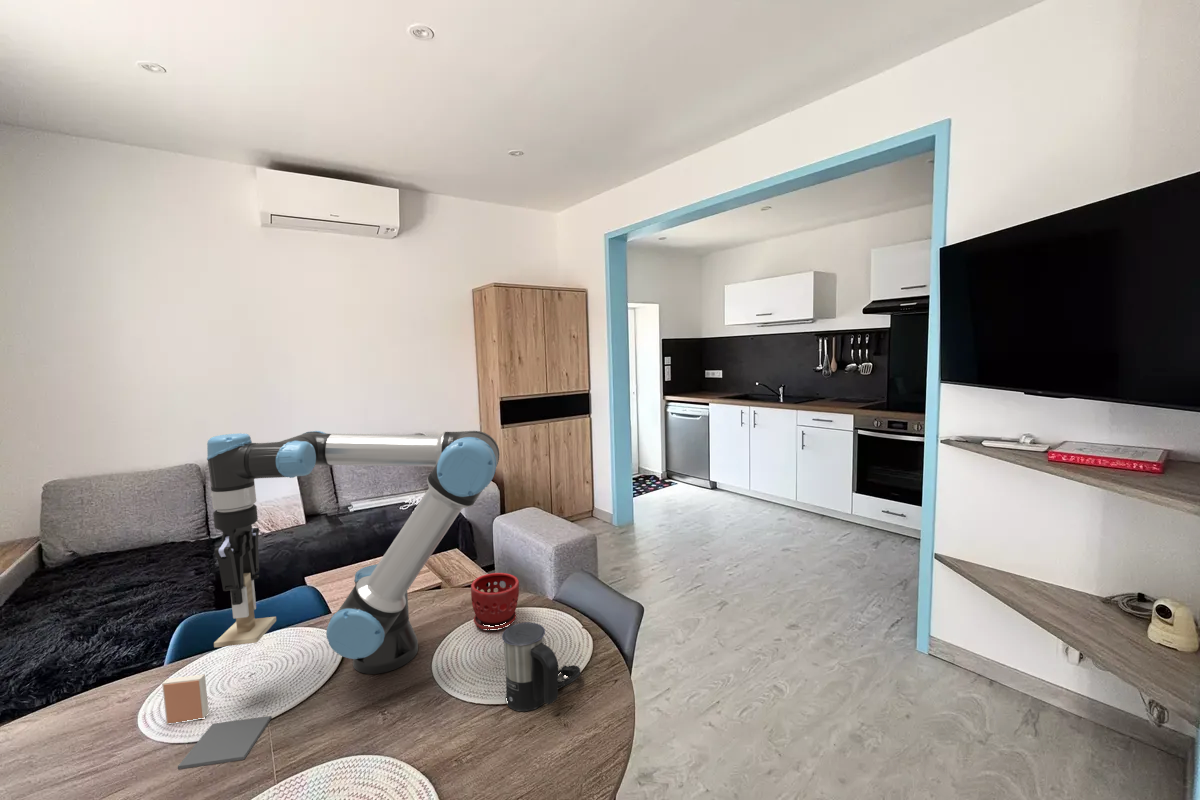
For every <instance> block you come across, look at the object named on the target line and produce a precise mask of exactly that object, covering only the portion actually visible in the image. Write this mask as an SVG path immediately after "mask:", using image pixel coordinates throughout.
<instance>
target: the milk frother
mask: <svg viewBox="0 0 1200 800" xmlns="http://www.w3.org/2000/svg"><path fill="white" fill-rule="evenodd" d="M545 634H546V629H545V628H544V626H543V625H541V624H539V623H535V622H530V621H529V622H528V621H527V622H520V623H515V624H513V625H512V624H511V625H510V626H508V627H507V628H505V629H504V631H503V632H502V634H501V638H502V641H503V653H504V654H503V655H504V667H505V680H506V681H505V685H506V689H505V690H506V696H505V699H506V698H507V701H508V704H506V705H507V706H508V707H509V708H510V709H511V710H512V711H517V712H529V711H533V710H536V709H538V708H540V707H541V706H542V705H543V703H544V704H546V705H551V704H553V703H554V702H555V701H557V699H558V697H559V689H561V688H563V687H565V686H567V685H570V684H571V683H573V682H574V681H576V680H577V679H578V678H579V677H580V675H581V668H580V667H579V666H577V665H575V664H574V665H568V666H567V665H566V664H565V665H563V666H562V667H561V668H560V667H559V662H558V658H557V656H556V654H555V652H554V651H553V649H552V648H551V647H549V646H547V645H546V644H545ZM560 672H561V675H563V676H564V675H566V676H568V677H569V678H566V679H563V680H560V681H559V676H558V674H559V673H560ZM563 676H562V677H563Z"/></svg>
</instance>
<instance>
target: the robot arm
mask: <svg viewBox="0 0 1200 800" xmlns="http://www.w3.org/2000/svg"><path fill="white" fill-rule="evenodd" d="M206 445H207V457H206V460H207V463H208V471H209V472H208V473H209V479H210V491H211V493H210V494H209V495H210V498H211V503H212V509H214V512H213V514H212V515H213V517H212V518H213V525H214V526H213V527H214V528H215V529H216V530H217V531H218V530H219V531H220V532H222V537H221V542H222V544H221V546H219V547H215V548H214V555H215V557H216V559H217V563H218V567H219V568H218V570H219V575H220V581H221V586H222V587H221V588H222V591H223V592H228V591H230V600H231V609H232V618H233V620H234V619H236V618H244V617H248V616H249V609H248V598H247V587H246V586H244V579H243V573H250V574H251V586H252V596H253V607H254V611H255V610H256V609H257V603H256V600H257V599H256V591H255V579H259V577H260V574H258V573H259V571H260V563H259V562H260V559H259V535H260V534H259V533H260V528H259V527H253V525H254V524H256V523H257V522H258V521H259V520H258V519H259V518H258V517H259V516H258V508H257V507H258V506H257V505H256V502H257V494H256V484H255V479H257V480H258V479H274V478H275V479H278V478H280V479H281V478H290V479H291V478H292V479H293V478H296V477H305V476H308V475H310V474H311V473H312V472H313V469H314V468H315V466H376V467H377V466H378V467H383V466H384V467H388V466H389V467H433V469H432V471H431V472H430V474H428V476H427V478H426V482H427V486H428V489H427V490H426V492H425V493H424V495H423V496H422V498H421V499H420V500H419V502H418V504H417V505H416V507H415V508H414V510H413V511H412V512H411V514H410V516H409V517H408V519H407V520H406V521H405V523H404V525H403V526H402V528H400V531H399V532H398V534H397V535H396V536H395V538H394V539H393V541H392V543H391V544H390V546H389V547H388V549H387V550H386V551H385V553H384V554H383V556H382V557H381V559H380V561H379V562H378V563H377V564H372V565H367V566H365V567H362V568H360V569H359V570H357V571H356V572H355V574H354V580H353V582H354V583H355V585H354V587H352V590H351V591H350V593H349V594H348V595H347V597H346V599H345V600H344V601H343V602H342V604H341V606H340V607H339V609H338V610H337V612H335V613H334V614H333V615H331V618H330V620H329V623H328V624H327V627H326V632H325V633H326V639H327V642H328V645H329V647H330V648H331V649H332V650H333V651H334V652H335V653H336V654H337V655H339V656H340V657H343V658H346V659H350V660H351V659H352V666H353V669H354V670H356V671H357V672H358V673H361V674H366V675H375V674H376V675H377V674H383V673H389V672H391V671H395V670H397V669H399V668H401V667H403V666H404V665H407V664H408V663H410V661H412V660H413V659H414V658H415V657H416V656H417V654H418V651H419V643H418V641H419V640H418V637H417V635H416V633H415V631H414V629H413V626H412V624H411V621H410V613H409V599H408V598H409V597H408V596H409V595H408V590H409V589H410V587H411V585H412V584H413V582H414V581H415V580H416V579H417V577H418V575H419V574H420V573H421V571H422V569H423V567H425V565H426V564H427V562H428V560H429V559H430V557H431V556H432V555H433V553H434V552H435V550H436V548H437V547H438V546H439V544H440V542H441V541H442V539H443V538H444V536H445V535H446V534H447V533H448V531H449V529H450V527H451V526H452V525H453V523H454V521H455V520H456V518H457V517H458V516H459V514H460V513H461V512H462V510H463V509H467V508H471V507H473V506H474V504H475V503H476V501H477V499H478V498H479V496H480V495H481V493H482V492H483V491H484V490H485V488H487V487H488V486H489V484H491V482H492V480H493V479H494V476H495V474H496V471H497V470H496V469H497V467H498V464H499V462H500V461H499V460H500V455H501V454H500V449H499V445H498V444H497V442H496V440H495V439H494V438H493V437H492V436H491V435H489V434H488V433H486V432H483V431H479V430H466V431H463V430H461V431H443V432H442V433H441V434H440V435H422V434H420V435H419V434H418V435H417V434H377V433H376V434H374V433H373V434H372V433H371V434H368V433H367V434H363V433H326V432H324V431H321V430H314V431H313V430H312V431H311V430H310V431H307V432H304V433H301V434H299V435H296V436H292V437H290V438H287V439H283V440H280V441H275V442H274V441H273V442H252V439H251V435H250V434H248V433H241V432H240V433H228V434H220V435H215V436H213V437H210V438H209V439H207V444H206Z"/></svg>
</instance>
